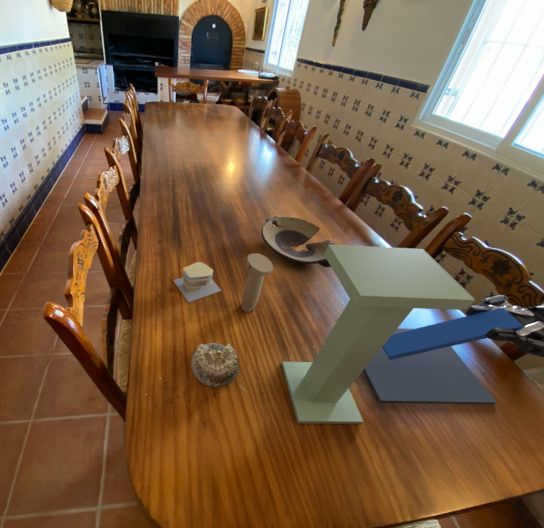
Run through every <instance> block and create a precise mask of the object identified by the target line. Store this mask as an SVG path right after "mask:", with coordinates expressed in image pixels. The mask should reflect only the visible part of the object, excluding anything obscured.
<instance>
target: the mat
mask: <svg viewBox="0 0 544 528" xmlns="http://www.w3.org/2000/svg"><path fill="white" fill-rule="evenodd" d="M412 329H413V328H403V327H402V328H399V327H398V328H397V329H396V331H395V332H394V333H393V334H396V333H400V332H404V331H408V330H412ZM363 372H364V374H365V377H366V378H367V380H368V382H369V384H370V386H371V388H372V390H373V392H374V394H375V396H376V398H377V400H378V401H379V403H404V404H405V403H412V404H413V403H414V404H473V405H475V404H476V405H477V404H481V405H496V404H497V401H496V400H495V399H494V398H493V396H492V395H491V394H490V393H489V392H488V390H487V389H486V388H485V386H484V385H483V384H482V383H481V381H480V380H479V379H478V378H477V376H476V375H475V374H474V373H473V371H472V370H471V369H470V368H469V367H468V365H467V364H466V363H465V361H464V360H463V359H462V358H461V357H460V355H459V354H458V353H457V351H455V349H454V348H453V347H452V346H450V347H445V348H441V349H436V350H432V351H427V352H423V353H418V354H414V355H410V356H405V357H401V358H396V359H392V360H390V359H389V358H388V356H387V354H386V353H385V351H384V349H383V348H381V349H380V350H379V352H378V353H377V354H376V355H375V356H374V358H373V359H372V360H371V361H370V363H369V364H368V365H367V366H366V368H365V369H364V370H363Z"/></svg>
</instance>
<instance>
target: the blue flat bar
mask: <svg viewBox="0 0 544 528" xmlns="http://www.w3.org/2000/svg"><path fill="white" fill-rule="evenodd" d="M493 328H501V329H512V330H513V331H516V330H518V329H522V328H523V325H521V324H520V323H519V322H518V321H517V320H516V319H515V318H514V317H513V316H512V315H510V314H509V313H508V312H507V311H506V310H505V309H504V308H503V307H502V308H498V309H494V310H490V311H486V312H482V313H478V314H474V315H470V316H467V315H466V316H461V317H457V318H454V319H449V320H445V321H441V322H437V323H432V324H429V325H425V326H420V327H417V328H411V329H412V330H408V331H404V332H400V333H396V334H392V336H391V337H390V338H389V339H388V340H387V342H386V343H385V344H384V345H383V347H382V348H383V349H384V351H385V353H386V354H387V356H388V358H389V359H390V360H392V359H396V358H401V357H405V356H410V355H414V354H418V353H423V352H427V351H432V350H436V349H441V348H445V347H450V346H451V347H452V346H453V347H454V346H458V345H462V344H463V345H464V344H467V343H471V342H476V341H481V340H485V339H488V338H487V337H486V335H485V334H486V333H488V332H489V331H490V330H491V329H493Z"/></svg>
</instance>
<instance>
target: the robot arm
mask: <svg viewBox="0 0 544 528" xmlns="http://www.w3.org/2000/svg"><path fill="white" fill-rule="evenodd" d="M508 300H509V297H508V296H507V295H505V294H500V295H496V296H491V297H487V298H485V299H483V300H482V302H480V303H479V304H478V305H470V306H469V307H468V308H467V309H466V312H465V315H466V316H470V315H474V314H478V313H482V312H486V311H490V310H494V309H498V308H502V307H503V308H504V309H505V310H506V311H507V312H508V313H509V314H510V315H512V316H513V317H514V318H515V319H516V320H517V321H518V322H519V323H520V324H521V325H523V328H522V329H518V330H516V331H513V330H512V329H501V328H493V329H491V330H490V331H489V332H488V333H486V334H485V335H486V337H487V338H486V339H488V340H490V339H491V340H494V341H495V342H496V341H497V342H507V343H509V344H515V346H516V349H517V350H518V351H519V352H521V353H525V354H528V355H533V356H536V357H540V358H544V305H537V306H536V305H535V306H531V307H522V306H520V305H513V304H511V303H509V302H508Z"/></svg>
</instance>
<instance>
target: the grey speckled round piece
mask: <svg viewBox="0 0 544 528" xmlns="http://www.w3.org/2000/svg"><path fill="white" fill-rule="evenodd" d="M190 368H191V371H192V374H193V375H194V376H195V378H196V379H197V380H198V382H200V383H201V384H203V385H205V386H207V387H210V388H214V389H215V388H218V389H219V388H224V387H225V386H226V387H227V386H228V385H230V384H232V383H233V382H234V381H235V379H236V378H237V376H238V374H239V370H240V365H239V356H238V353H237V352H236V349H235V348H234V347H233V346H232V345H231V344H230V343H227V344H226V345H223V344H220V343H216V342H214V343H212V342H210V343H206V344H204V343H200V344H199V345H198V346H197V348H196V349H195V351H194V352H193V354H192V357H191V359H190Z"/></svg>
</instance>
